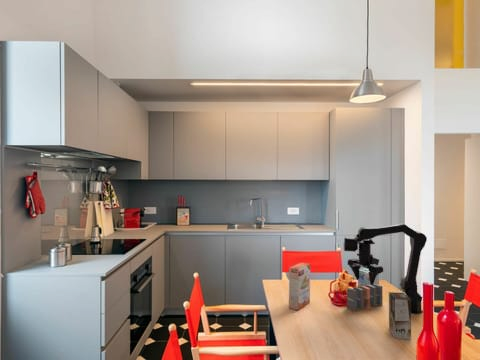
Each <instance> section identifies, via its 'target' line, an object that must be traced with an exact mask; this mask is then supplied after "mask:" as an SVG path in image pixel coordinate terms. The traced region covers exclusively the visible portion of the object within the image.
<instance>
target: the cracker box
mask: <svg viewBox="0 0 480 360" xmlns="http://www.w3.org/2000/svg"><path fill="white" fill-rule="evenodd" d="M288 270H289V271H288V274H289V275H288V309H292V310H294V311H295V310H296V311H300V310H301V309H303V308H304V307H306V306H307V305H308V304H310V303H311V264H310V263H306V262H299V263H297V264H295V265H291V266H289V269H288Z"/></svg>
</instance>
